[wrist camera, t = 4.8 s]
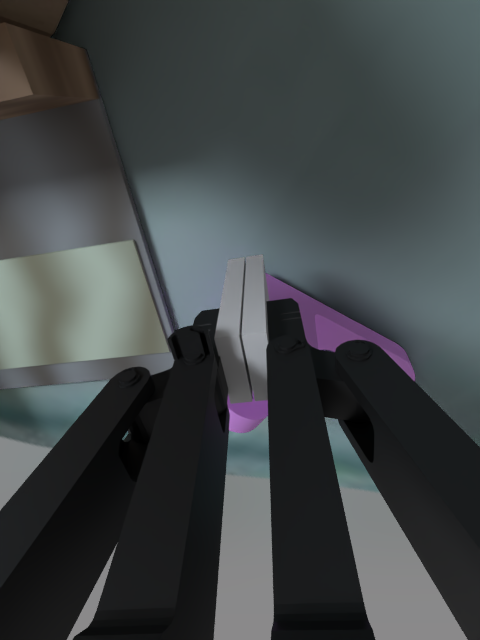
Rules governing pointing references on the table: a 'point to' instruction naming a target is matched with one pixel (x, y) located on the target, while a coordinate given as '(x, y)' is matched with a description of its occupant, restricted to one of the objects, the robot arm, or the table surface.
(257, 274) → the robot arm
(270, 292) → the bracket
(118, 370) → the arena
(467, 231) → the table surface
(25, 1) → the wooden block
